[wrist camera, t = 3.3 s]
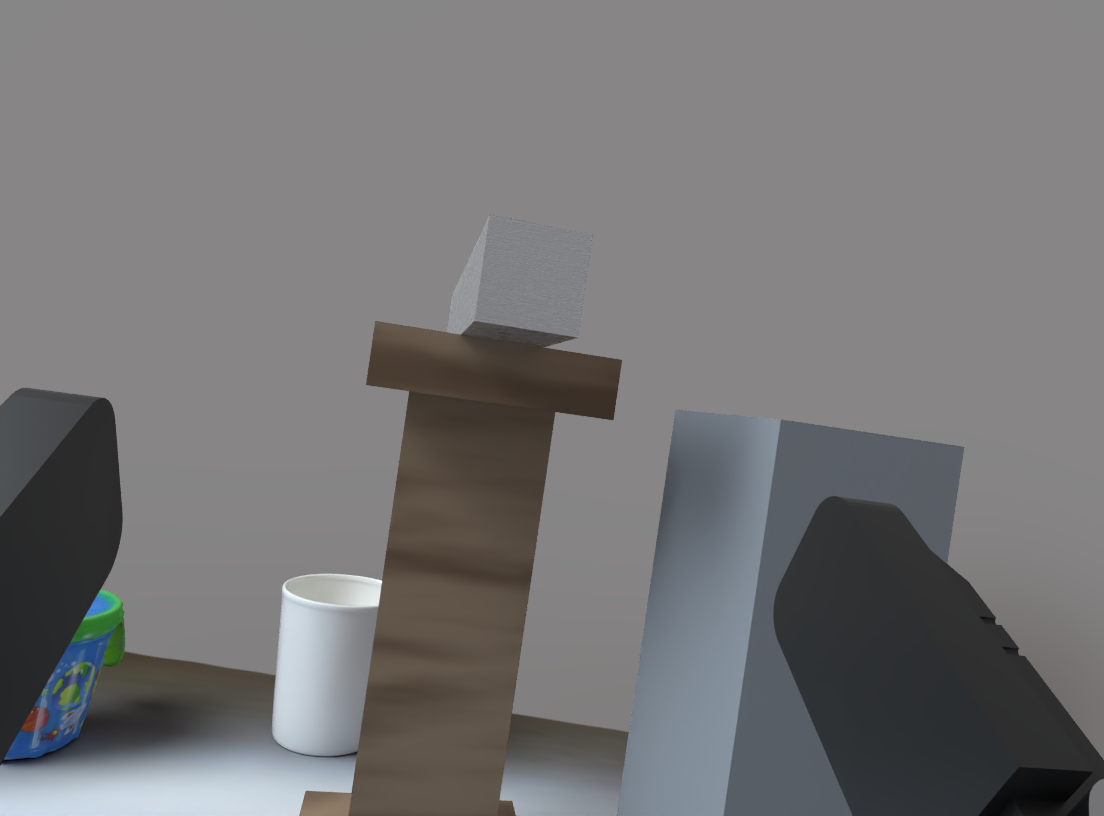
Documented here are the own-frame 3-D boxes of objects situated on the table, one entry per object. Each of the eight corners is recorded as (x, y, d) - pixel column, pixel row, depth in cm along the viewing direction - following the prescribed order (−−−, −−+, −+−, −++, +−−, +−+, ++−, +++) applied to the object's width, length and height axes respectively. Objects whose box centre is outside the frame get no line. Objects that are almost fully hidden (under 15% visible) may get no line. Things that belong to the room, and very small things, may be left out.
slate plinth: (856, 1183, 31) (964, 446, 31) (668, 1192, 30) (780, 419, 30) (734, 965, 43) (812, 430, 43) (595, 963, 42) (675, 409, 42)
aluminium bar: (577, 337, 30) (593, 234, 30) (474, 320, 29) (489, 214, 29) (500, 359, 55) (508, 303, 55) (444, 350, 55) (452, 294, 55)
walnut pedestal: (549, 1000, 39) (641, 363, 39) (255, 999, 36) (353, 317, 36) (508, 822, 54) (574, 369, 54) (302, 813, 52) (370, 338, 52)
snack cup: (65, 689, 65) (83, 569, 65) (163, 723, 62) (181, 596, 62) (-155, 761, 50) (-133, 606, 50) (-43, 811, 47) (-19, 644, 47)
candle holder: (303, 774, 57) (326, 612, 57) (238, 723, 63) (259, 578, 63) (409, 743, 64) (429, 599, 64) (341, 700, 71) (360, 570, 71)
